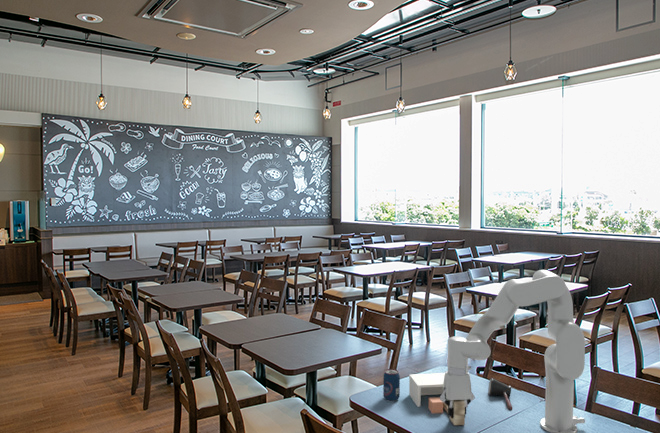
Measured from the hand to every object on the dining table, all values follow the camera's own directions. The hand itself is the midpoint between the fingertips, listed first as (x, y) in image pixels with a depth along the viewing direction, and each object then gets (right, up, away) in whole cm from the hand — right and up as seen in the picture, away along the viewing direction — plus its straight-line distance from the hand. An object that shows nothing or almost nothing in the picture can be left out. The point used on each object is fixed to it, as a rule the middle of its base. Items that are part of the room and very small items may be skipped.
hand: (457, 415), depth 185 cm
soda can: (-23, -2, +22) cm, 31 cm away
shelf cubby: (-3, -2, +21) cm, 21 cm away
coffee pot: (+24, -2, +21) cm, 32 cm away
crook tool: (-2, -2, +6) cm, 7 cm away
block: (-6, -2, +10) cm, 12 cm away
